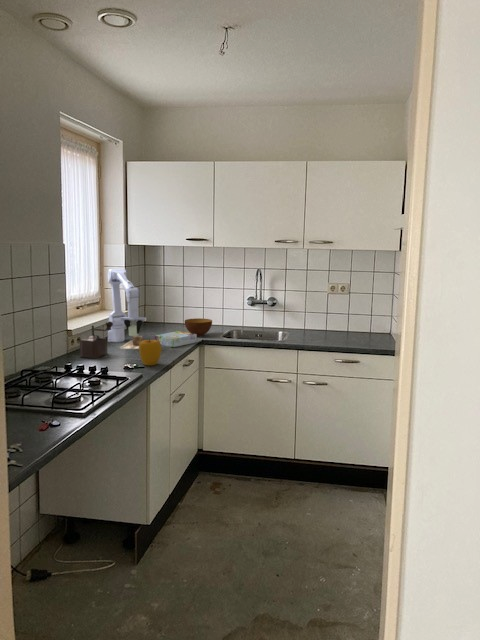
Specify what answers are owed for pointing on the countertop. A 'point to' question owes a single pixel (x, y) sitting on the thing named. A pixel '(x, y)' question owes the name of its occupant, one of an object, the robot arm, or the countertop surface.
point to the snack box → (176, 338)
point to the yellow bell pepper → (150, 352)
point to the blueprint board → (129, 345)
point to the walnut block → (137, 340)
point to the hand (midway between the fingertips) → (133, 333)
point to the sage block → (133, 331)
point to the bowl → (198, 326)
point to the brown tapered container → (94, 344)
